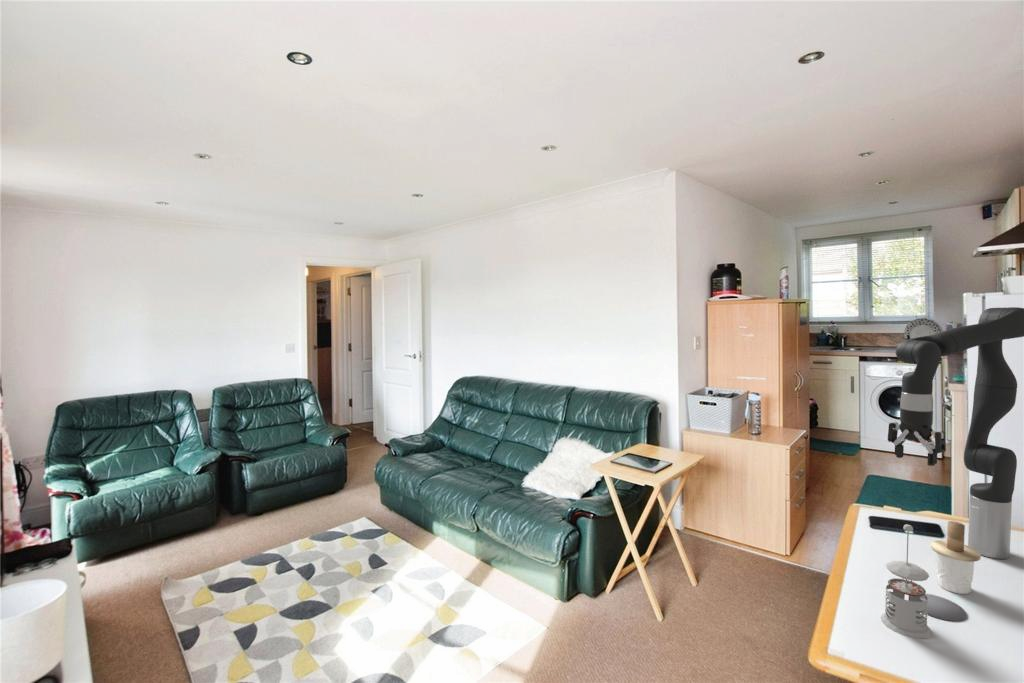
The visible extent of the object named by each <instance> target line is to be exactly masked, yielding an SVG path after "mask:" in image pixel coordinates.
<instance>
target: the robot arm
mask: <svg viewBox="0 0 1024 683" xmlns="http://www.w3.org/2000/svg"><path fill="white" fill-rule="evenodd" d="M1023 337H1024V308H1023V307H1016V306H1015V307H1014V306H1013V307H1011V306H1010V307H990V308H985V310H983V311H982V312H981V314H980V316H979V318H978V323H975V324H969V325H962V326H957V327H953V328H949V329H946V330H943V331H940V332H937V333H935V334H932V335H931V334H930V335H923V336H919V337H913V338H908V339H906V340H903V341H902V342H900V343H899V344H898V345H897V346H896V349H895V356H896V358H897V359H898V360H899V361H900V362H902V363H905V364H909V365H911V364H912V365H915V369H914V371H907V372H904V373H903V375H902V378H901V395H900V401H899V403H900V407H899V408H900V410H899V411H900V412H899V421H900V423H898V422H896V421H894V422H889V424H888V431H887V441H888V442H889V443H893V444H894V455H895V457H896V458H898V459H902V458H904V450H905V448H904V445H903V444H904V443H906V442H907V441H909V442H915V443H918V444H921V446H922V447H924V448H925V449H926V451H927V462H926V464H927V466H929V467H934V466H935V465H937V464H938V454H942V453H945V452H946V451H947V450H946V449H947V448H946V447H947V446H946V432H945V431H943V430H941V431H935V430H933V428H932V426H933V421H934V397H933V389H934V388H933V387H934V382H933V381H934V378H935V375H936V373H937V370H938V368H939V365H940V362H941V360H942V357H947V356H950V355H954V354H957V353H960V352H963V351H965V350H968V349H972V348H974V347H975V348H976V347H977V348H978V349H977V365H976V366H977V367H976V374H975V375H976V377H975V383H974V387H973V390H974V391H973V403H972V413H971V418H970V425H969V429H968V434H967V439H966V442H965V447H964V452H963V463H964V466H965V468H966V469H967V470H969V471H970V472H975V473H978V474H981V475H986V476H989V477H992V478H991V482H977V483H973V484H971V486H970V487H969V509H968V510H969V512H968V514H969V515H968V538H967V540H968V541H967V546H969V547H972V548H974V549H975V550H977V551H978V552H979V553H980V554H981V556H983V557H988V558H991V559H999V560H1001V559H1002V560H1005V559H1009V558H1010V554H1011V533H1012V531H1011V530H1012V505H1013V503H1012V502H1013V494H1014V491H1015V483H1016V482H1015V481H1016V473H1017V465H1018V462H1017V461H1018V460H1017V459H1018V458H1017V455H1016V453H1015V452H1014V450H1012V449H1010V448H1006V447H1002V446H997V445H991V444H988V439H989V436H990V432H992V429H993V428H994V426H996V424H997V423H998V422H1000V421H1001V420H1002V419H1003V418H1004V417H1005V416H1006V415H1007V414H1008V413H1010V411H1011V410H1012V409H1013V408H1014V406H1015V404H1016V400H1017V393H1018V381H1017V378H1016V376H1015V374H1014V372H1013V370H1012V369H1011V367H1010V365H1009V364H1008V363H1007V361H1006V359H1005V357H1004V353H1003V341H1004V340H1010V339H1018V338H1023ZM899 430H900V432H901V434H899V435H898V433H899V432H898V431H899ZM932 436H933V438H934V440H933V439H932V438H931V437H932Z"/></svg>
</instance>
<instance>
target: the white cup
mask: <svg viewBox="0 0 1024 683" xmlns="http://www.w3.org/2000/svg"><path fill="white" fill-rule="evenodd" d="M935 564H936V575H937V585H938V586H940V588H942V589H944V590H946V591H948V592H951V593H955V594H960V595H969V594H970V593H971V591H972V583H973V579H974V570H975V561H974V562H968V561H960V560H955V559H952V558H948V557H945V556H943V555H940V554H938V553H937V552H935Z"/></svg>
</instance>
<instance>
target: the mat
mask: <svg viewBox="0 0 1024 683" xmlns="http://www.w3.org/2000/svg"><path fill="white" fill-rule="evenodd" d="M925 595H926V596H927V598H928V604H927V606H928V607H926V608H927V612H926V613H927V614H928V615H927V616H930V617H932V616H933V618H935V619H940V620H944V621H949V622H958V621H960V622H961V621H963V620H965V619H966V617H967V612H966V611H965V609H964V608H963V607H961V605H959V604H957V603H955V602H954V601H952V600H950V599H947V598H945V597H942V596H939V595H935V594H931V593H930V594H929V593H925ZM921 600H923V601H926V599H924V598H921ZM923 611H924V612H925V611H926V610H923Z"/></svg>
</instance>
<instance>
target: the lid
mask: <svg viewBox="0 0 1024 683" xmlns="http://www.w3.org/2000/svg"><path fill="white" fill-rule="evenodd" d="M965 527H966V526H965V524H964V523H962V522H958V521H955V520H954V521H951V520H950V521H948V522H947V535H946V537H947V538H946V539H947V540H934V541H932V542H931V543H930V547H931V550H932V551H934V552H935V553H936V552H937V553H938V554H940V555H943V556H945V557H948V558H952V559H955V560H960V561H968V562H974V563H975V562H979V561H981V558H982V555H981V554H980V553H979V552H978V551H977V550H975V549H974V548H972V547H969V546H968V544H967V545H966V544H965V531H966V530H965V529H966V528H965Z"/></svg>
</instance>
